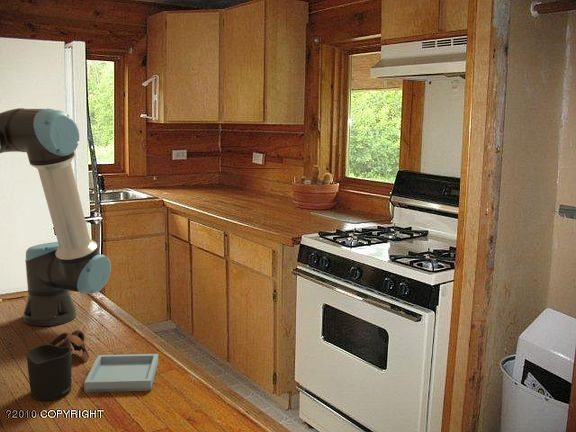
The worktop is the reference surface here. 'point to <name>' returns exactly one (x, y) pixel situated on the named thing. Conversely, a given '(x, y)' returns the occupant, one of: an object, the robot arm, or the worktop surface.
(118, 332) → the worktop surface
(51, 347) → the pen holder
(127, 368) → the tray
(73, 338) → the brown hollow rounded piece
